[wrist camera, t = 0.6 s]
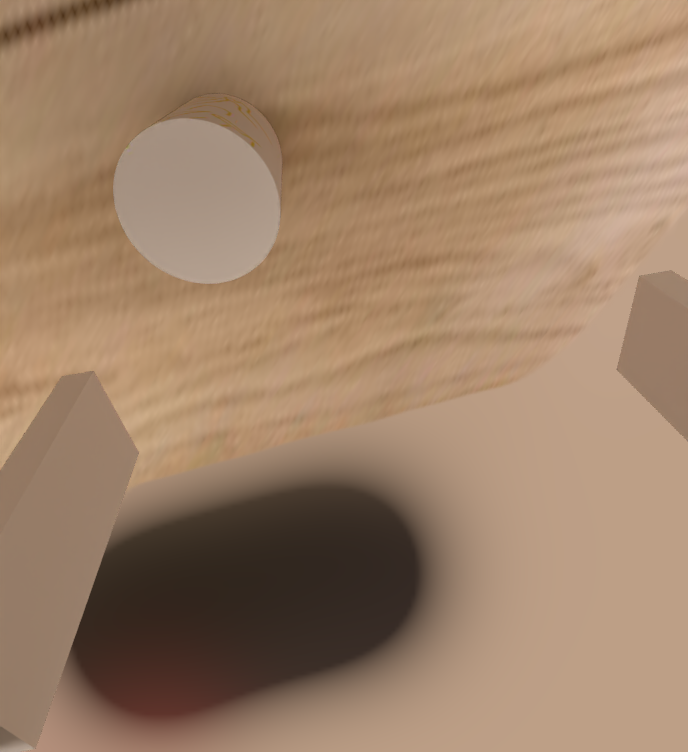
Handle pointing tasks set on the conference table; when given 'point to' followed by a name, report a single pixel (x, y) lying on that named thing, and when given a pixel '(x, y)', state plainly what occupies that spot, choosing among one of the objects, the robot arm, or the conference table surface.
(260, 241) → the cup
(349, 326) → the conference table surface
